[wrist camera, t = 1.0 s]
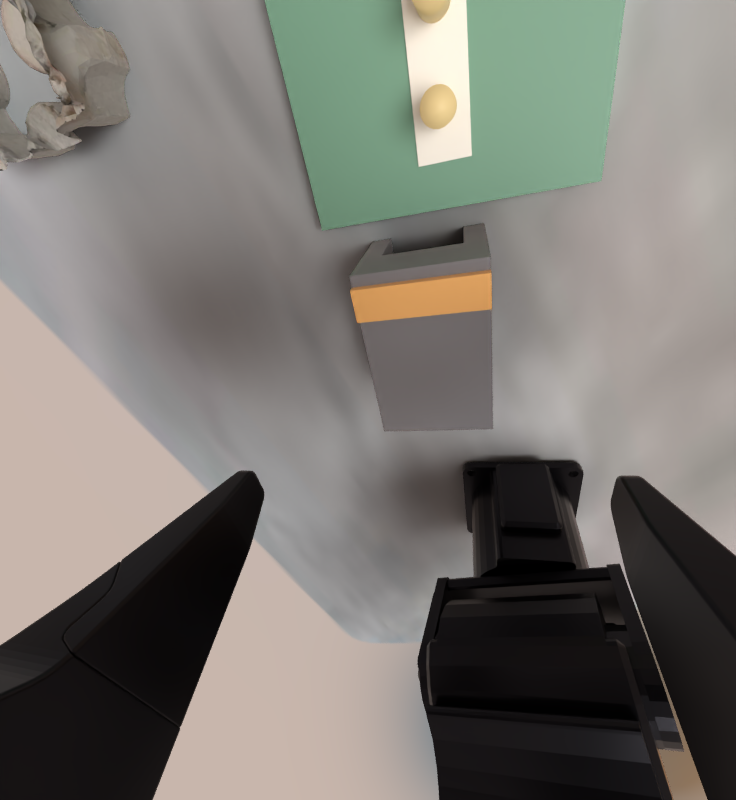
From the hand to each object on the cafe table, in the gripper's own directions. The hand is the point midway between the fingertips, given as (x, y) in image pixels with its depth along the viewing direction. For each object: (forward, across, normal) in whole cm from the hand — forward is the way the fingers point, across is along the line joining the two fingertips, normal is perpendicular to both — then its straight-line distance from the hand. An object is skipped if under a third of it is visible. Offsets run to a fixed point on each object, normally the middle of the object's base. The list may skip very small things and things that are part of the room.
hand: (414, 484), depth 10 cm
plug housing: (+11, 0, 0) cm, 11 cm away
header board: (+10, -1, -10) cm, 15 cm away
